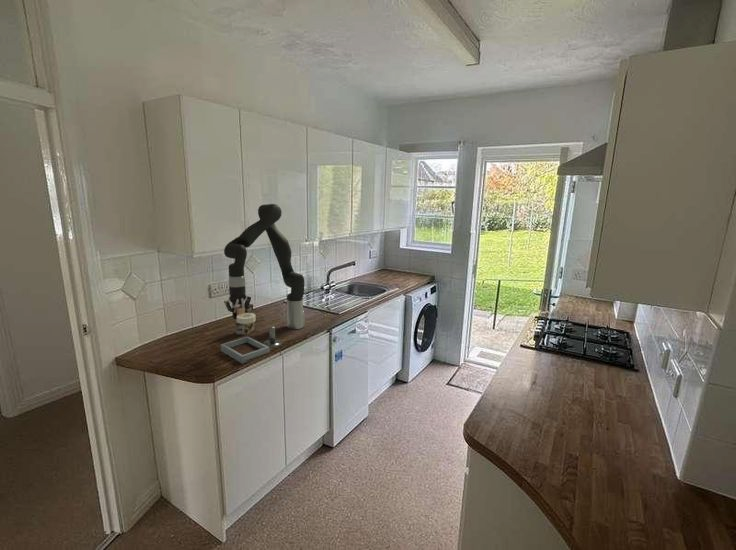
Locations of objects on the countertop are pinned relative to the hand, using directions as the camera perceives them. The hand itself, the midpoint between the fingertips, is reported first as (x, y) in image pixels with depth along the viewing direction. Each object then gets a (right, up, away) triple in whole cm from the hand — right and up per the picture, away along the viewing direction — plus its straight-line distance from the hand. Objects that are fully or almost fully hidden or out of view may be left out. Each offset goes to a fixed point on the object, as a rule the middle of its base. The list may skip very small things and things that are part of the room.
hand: (238, 318), depth 179 cm
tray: (+3, -17, +1) cm, 18 cm away
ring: (+4, 0, -3) cm, 5 cm away
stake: (+14, -15, +11) cm, 23 cm away
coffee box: (-6, -12, +26) cm, 29 cm away
